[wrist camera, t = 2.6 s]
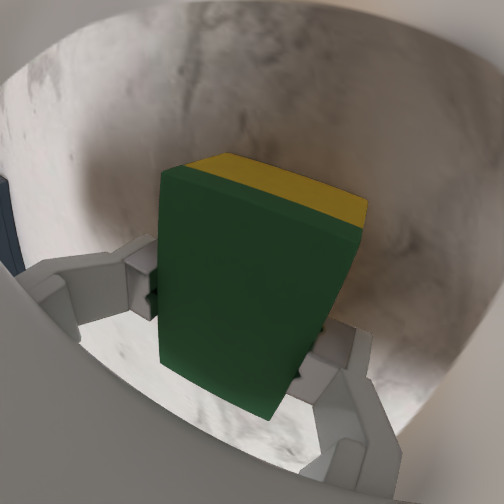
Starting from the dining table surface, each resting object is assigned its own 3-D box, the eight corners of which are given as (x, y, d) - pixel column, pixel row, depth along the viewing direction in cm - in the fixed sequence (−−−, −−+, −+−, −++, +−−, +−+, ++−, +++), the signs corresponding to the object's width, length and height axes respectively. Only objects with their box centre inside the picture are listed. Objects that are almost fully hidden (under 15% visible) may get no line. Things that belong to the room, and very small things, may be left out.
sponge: (226, 151, 9) (160, 170, 6) (369, 199, 7) (360, 244, 5) (202, 317, 12) (159, 363, 10) (297, 363, 11) (268, 421, 9)
